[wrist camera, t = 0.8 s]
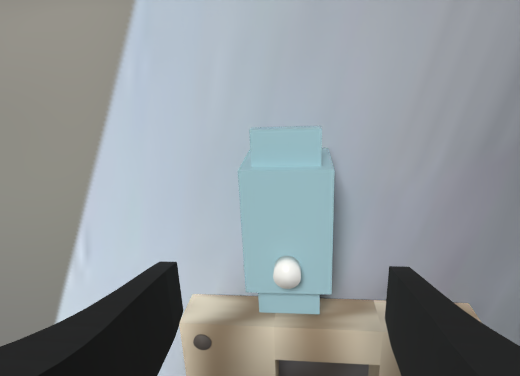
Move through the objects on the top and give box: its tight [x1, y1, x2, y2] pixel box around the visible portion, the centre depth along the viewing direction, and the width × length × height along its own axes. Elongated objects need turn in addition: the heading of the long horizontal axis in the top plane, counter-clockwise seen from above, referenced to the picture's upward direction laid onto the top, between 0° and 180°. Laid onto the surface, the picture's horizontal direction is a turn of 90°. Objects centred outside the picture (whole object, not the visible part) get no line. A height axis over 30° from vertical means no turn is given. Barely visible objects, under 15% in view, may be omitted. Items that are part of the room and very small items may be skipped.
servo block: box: [238, 126, 335, 314], centre depth 18 cm, size 4×9×5 cm, turn 2°
